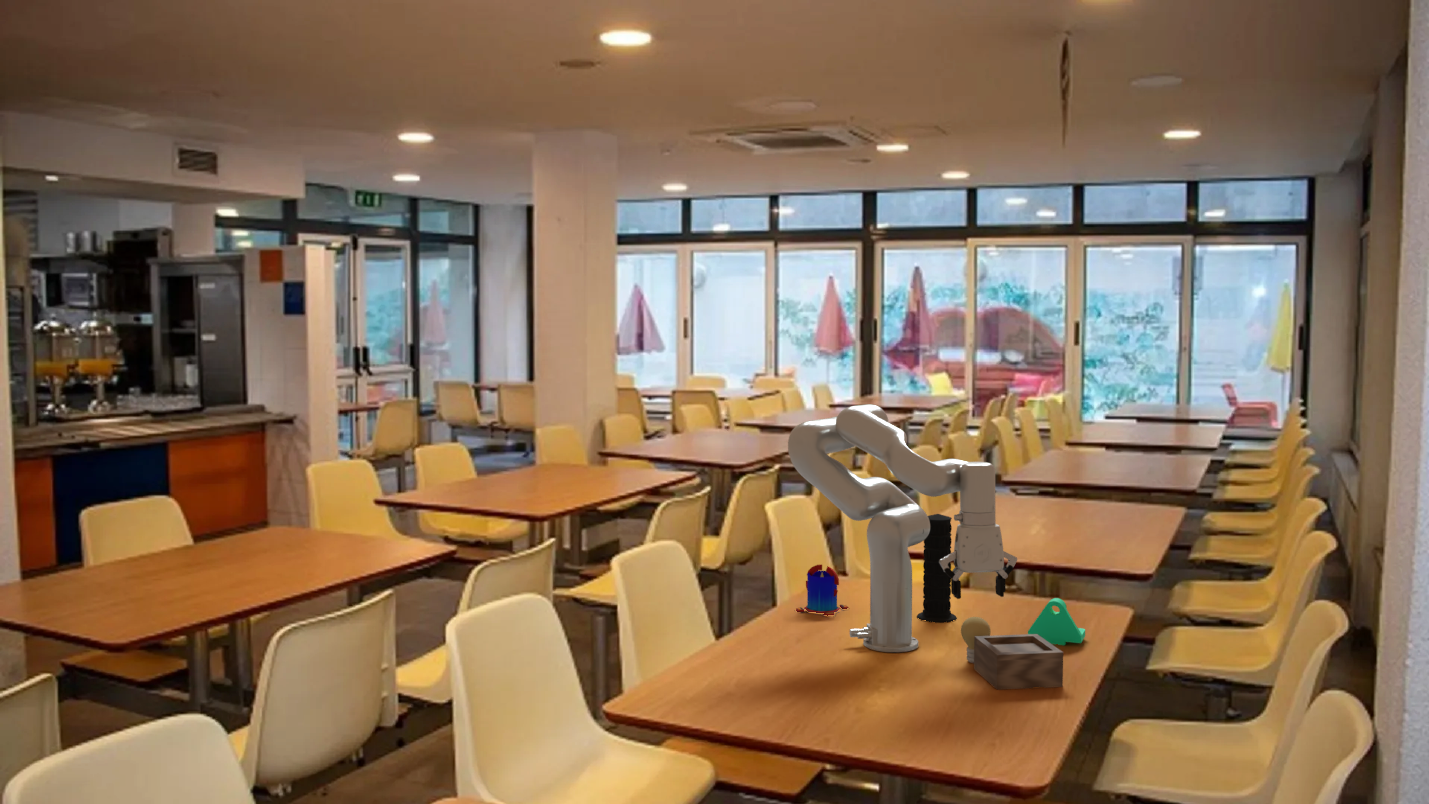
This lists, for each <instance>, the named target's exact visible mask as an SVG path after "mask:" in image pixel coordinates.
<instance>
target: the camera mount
mask: <svg viewBox="0 0 1429 804" xmlns="http://www.w3.org/2000/svg"><path fill="white" fill-rule="evenodd" d="M1053 607H1056V608H1058V610H1059V611H1055V610H1054V608H1053ZM1027 634H1038V635H1039V636H1041V637H1042V638H1043V639H1045V640H1046V641H1048V642H1049V643H1051V644H1052V645H1056V644H1058V645H1059V646H1065V645H1066V644H1067V643H1074V644H1082V642H1083V641H1084V639H1085V637H1086V629H1085V628H1081V627H1078V626H1077V624H1076V622H1075V621H1074V620H1073V618H1072V615H1071V614H1070V613H1069V611H1068V609H1067V604H1066V602H1065V601H1064V600H1063V599H1062V598H1059V597H1054V598H1052V599H1050V600H1049V601H1048V603H1047V604H1046V605H1045V606H1044V608H1043V609H1042V611H1041V612H1040V614H1039V615H1038V616H1037V618H1036V619H1035V620H1034V621H1033V623H1032V625H1030V627H1029V628H1028V630H1027ZM1066 642H1067V643H1066ZM1058 645H1057V646H1058Z"/></svg>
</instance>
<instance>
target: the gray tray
mask: <svg viewBox="0 0 1429 804" xmlns="http://www.w3.org/2000/svg"><path fill="white" fill-rule="evenodd" d="M973 669H974V671H976V673H978V674H979V675H980V676H981V677H982V678H983V679H984V680H985V681H987V682H988V683H989V684H990V685H991V686H992V687H993V688H995V689H996V690H1013V689H1015V690H1016V689H1017V690H1019V689H1034V688H1033V687H1044V688H1063V687H1064V686H1063V685H1064V651H1062V650H1061V649H1060V648H1058V647H1056V646H1055V644H1051V643H1049V642H1048V641H1046V640H1045V639H1043V638H1042V637H1041V636H1039V635H1038V634H1028V633H1027V634H1004V635H1002V634H1001V635H999V634H997V635H990V636H974V663H973Z"/></svg>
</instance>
